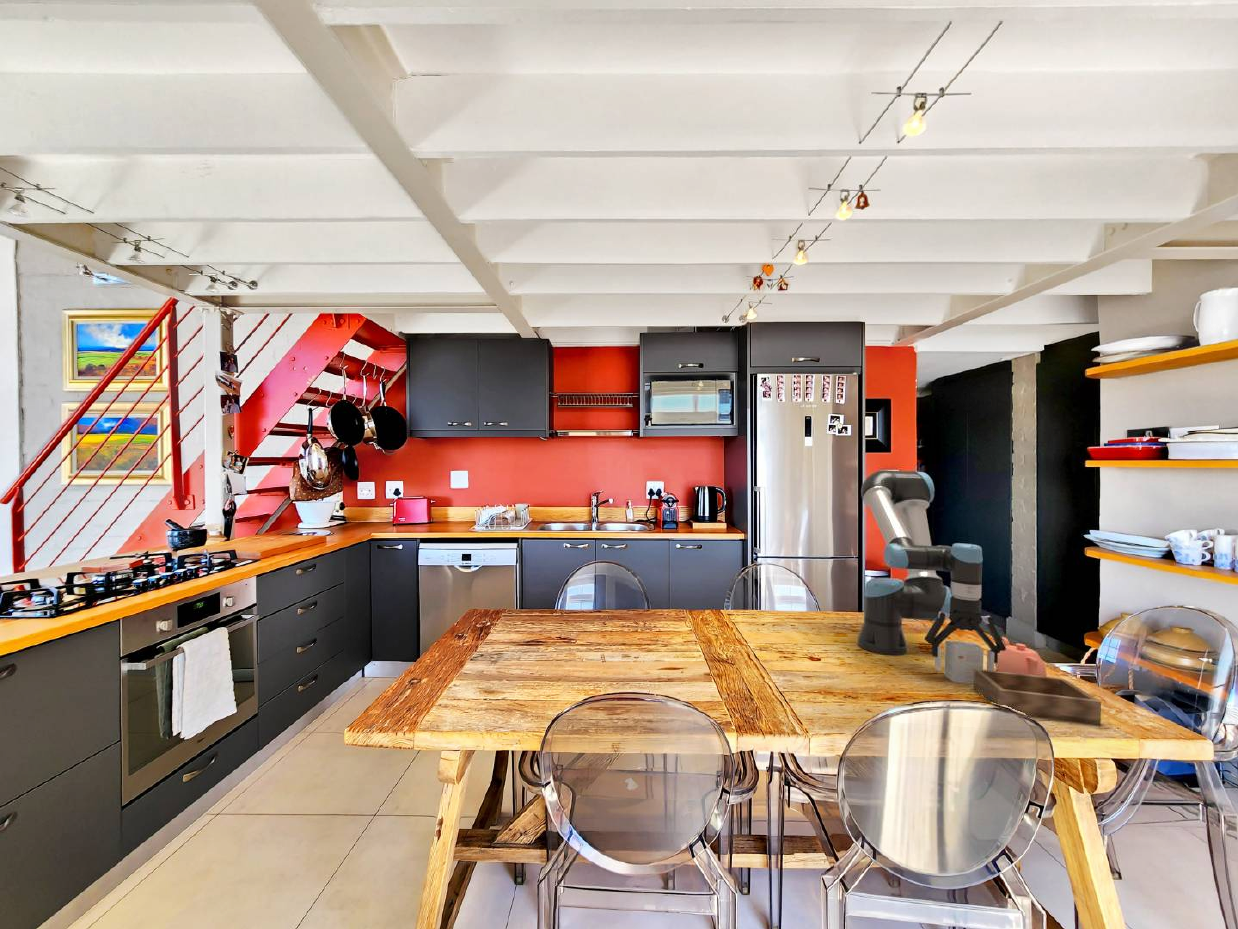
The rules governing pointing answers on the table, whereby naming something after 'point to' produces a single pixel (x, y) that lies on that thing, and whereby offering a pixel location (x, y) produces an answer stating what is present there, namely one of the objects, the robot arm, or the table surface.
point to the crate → (1038, 696)
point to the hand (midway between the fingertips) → (963, 671)
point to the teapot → (1020, 660)
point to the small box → (962, 661)
